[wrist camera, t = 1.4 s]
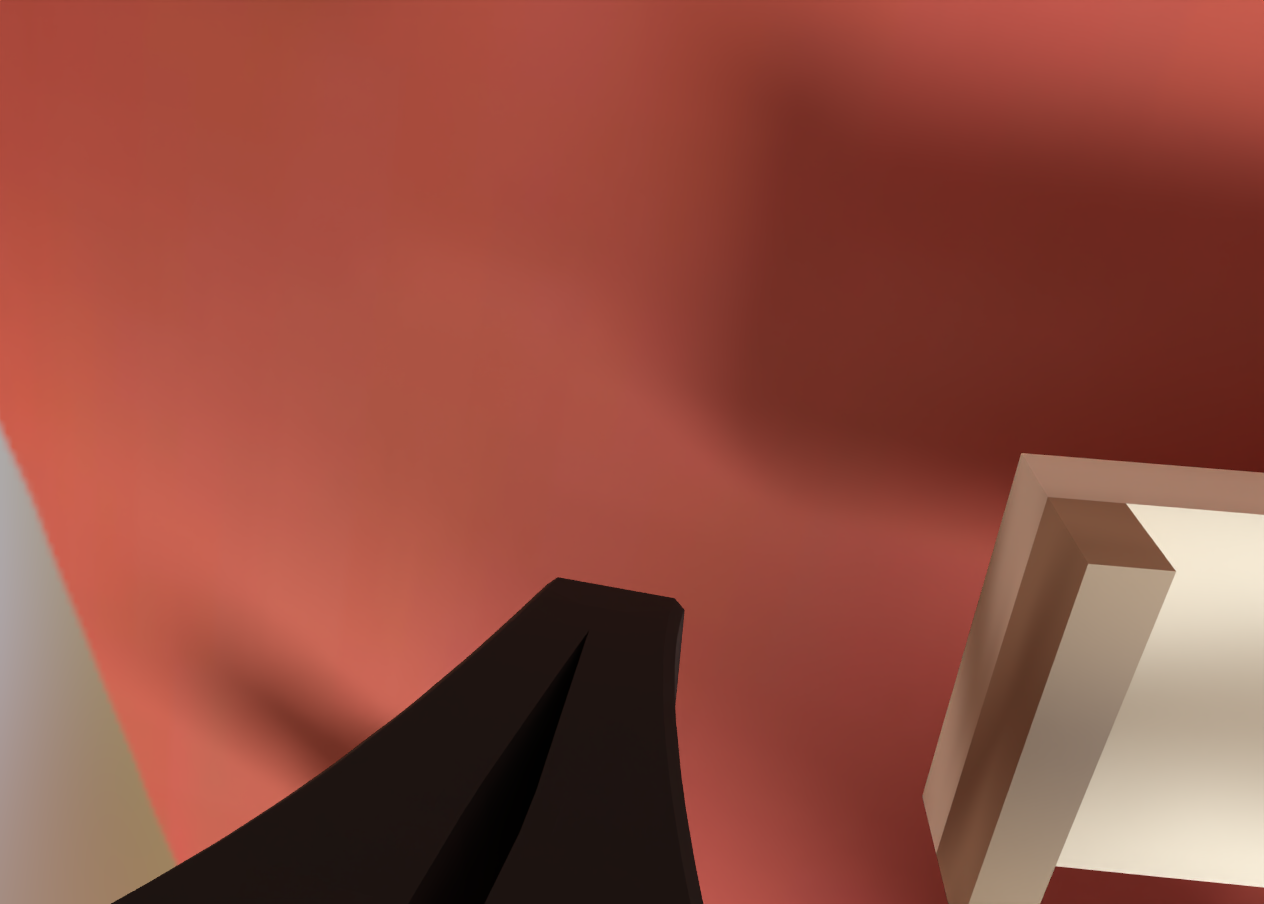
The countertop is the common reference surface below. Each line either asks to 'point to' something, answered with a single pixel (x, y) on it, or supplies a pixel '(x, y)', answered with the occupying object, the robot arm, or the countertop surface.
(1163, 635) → the beam
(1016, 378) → the countertop surface
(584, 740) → the robot arm
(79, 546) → the countertop surface
